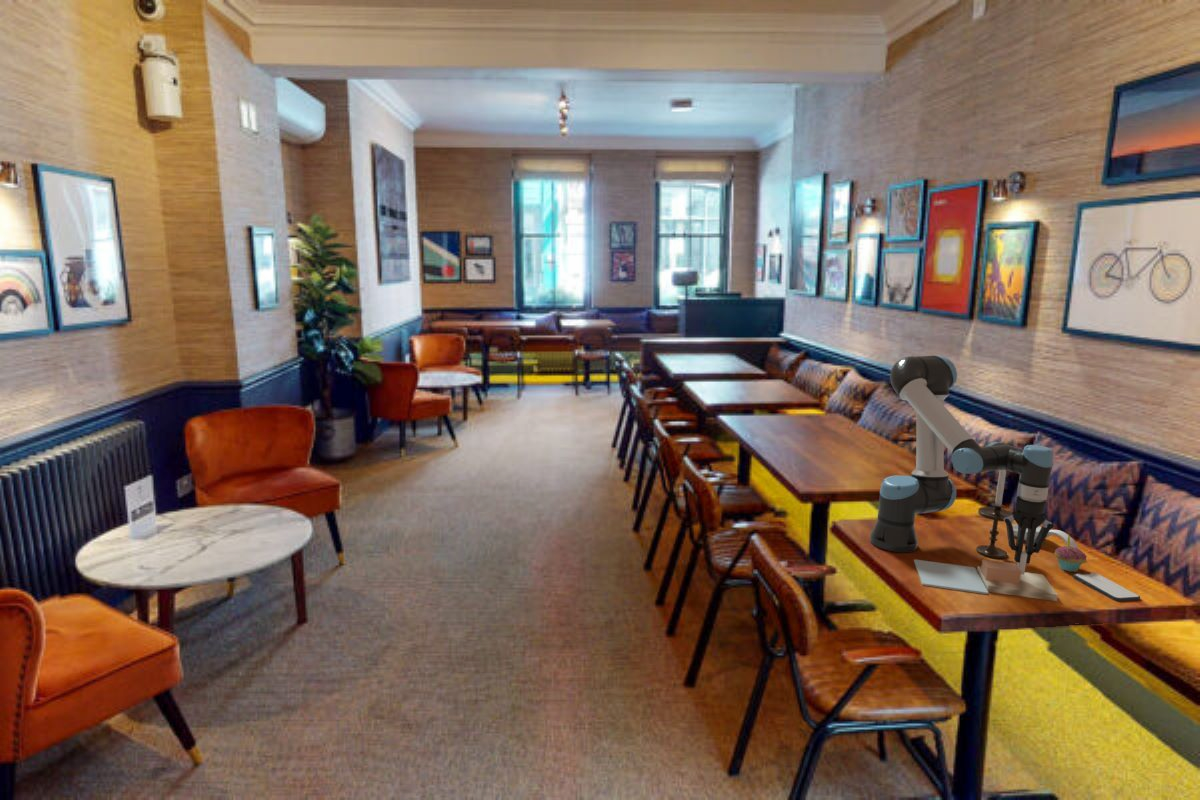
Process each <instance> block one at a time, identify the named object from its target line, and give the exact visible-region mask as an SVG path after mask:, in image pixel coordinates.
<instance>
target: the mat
mask: <svg viewBox="0 0 1200 800" xmlns="http://www.w3.org/2000/svg"><path fill="white" fill-rule="evenodd" d="M913 563H914V565H915V568H916V571H917V574H918V578H919V580H920V582H921V586H927V587H934V588H941V589H947V590H954V591H961V592H967V593H974V594H975V593H976V594H982V595H989V592H988V591H987V589H986V587H985V585H984V583H983V582H982V580H981V578H980V576H979V574H978V572H977V569H976V567H974V566H968V565H959V564H953V563H942V562H938V561H937V562H936V561H928V560H921V559H913Z"/></svg>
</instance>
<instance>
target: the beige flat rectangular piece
mask: <svg viewBox="0 0 1200 800" xmlns="http://www.w3.org/2000/svg"><path fill="white" fill-rule="evenodd" d="M981 567H982V565H980V566H979V565H978V566H977V567H976V568H977V569H976V570H977V572H978V574H979V576H980V578H981V580H982V582H983V583H984V585H985V587H986V589H987V591H988V593H994V594H1003V595H1009V596H1010V595H1011V596H1016V597H1017V596H1018V597H1023V598H1030V599H1036V600H1037V599H1039V600H1045V601H1051V602H1052V601H1053V602H1058V598H1059V594H1058V593H1057V591H1056V590H1055V589H1054V587H1053V586H1052V585H1051V584H1050V583H1049V581H1048V579H1047V578H1046V576H1044V574H1043V573H1042V574H1040V573H1034V572H1033V573H1032V572H1028V571H1025V573H1024V575H1022V574H1021V577H1020V583H1019V584H1014V583H1007V582H999V581H992V580H986V579H985V578H984V576H983V574H982V572H981Z"/></svg>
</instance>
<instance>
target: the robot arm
mask: <svg viewBox="0 0 1200 800" xmlns="http://www.w3.org/2000/svg"><path fill="white" fill-rule="evenodd" d="M890 370H891V371H890V375H889V379H890V384H891V387H892V388H893V390H894V392H895V393H896V394H897V396H898V397H899V399H901V400H902V401H907V403H908V404H909V405H910V406H911V407H912V408H913V410H915V412H916V418H915V419H916V423H915V424H916V426H915V428H916V431H915V433H916V439H915V440H916V441H915V442H916V443H915V445H916V447H915V449H916V451H915V453H916V454H915V460H916V461H915V462H916V465H915V469H913V470H912V471H911V475H899V474H898V475H897V474H895V475H891V476H887V477H886V478H884V479H883V480H882V481H881V485H880V489H879V498H878V499H879V500H878V511H877V520H876V522H875V524H874V525H873V528H872V529H871V532H870V534H869V542H870V543H871V545H874V546H875V547H876V548H879V549H882V550H885V551H889V552H893V553H894V552H895V553H911V552H915V551H916V550H917V549H918V545H919V543H918V538H917V537H918V536H917V534H916V529H915V519H916V515H918V514H925V513H926V514H928V513H938V512H941V511H945V510H946V511H947V510H948V509H949V508H950V507H952V506H953V505H954V503H955V501H956V498H957V489H956V485H954V482H953V480H952V479H950V478H949V473H948V472H947V471H946V470H945V469H944V467H945V463H944V459H945V456H944V455H945V454H944V453H945V448H946V449H947V450H948V451H949V452H950V453H951V454H952V455H951V457H950V459H951V463H952V467H953V468H954V469H955V471H957V472H958V473H960V474H966V475H967V474H968V475H969V474H972V475H973V474H978V473H986V472H997V471H1000V470H1006V472H1007V471H1008V472H1011V473H1014V474H1017V475H1019V476H1018V477H1019V480H1018V484H1017V485H1018V486H1017V490H1016V491H1017V492H1016V494H1017V496H1016V500H1015V504H1014V510H1013V512H1012V515H1011V516H1009V517H1003V520H1004V521H1005V522H1004V521H1003V522H1004V523H1005V527H1006V532H1007V533H1006V534H1007V541H1008V546H1009V548H1010V549H1011V551H1014V561H1015V563H1016V565H1017V566H1018V568H1019V569H1020V571H1021V574H1022V575H1024V573H1025V572H1026V564H1027V565H1028V564H1030V563H1031V557H1032V555H1033V554H1038V553H1039V552H1040V550H1041V549H1042V548H1043V547H1042V546H1043V544H1044V542H1045V540H1046V539H1047V538H1046V536H1047V534H1048V532H1049V531H1050V530H1053V528H1054V524H1053V523H1052V522H1051V521H1049V520H1048V519H1046V516H1045V513H1046V508H1047V501H1046V500H1047V499H1048V496H1049V488H1050V480H1051V476H1052V469H1053V466H1054V450H1053V449H1051V447H1046V446H1044V445H1038V444H1027V445H1026V446H1024V447H1023V448H1021V447H1016V446H1013V445H1010V444H1007V443H1004V442H998V441H991V442H989V443H988V444H986V445H985V446H981V445H980V444H979V442H977V441H976V440H975V439H974V437H972V436H971V434H969V433H968V431H967V430H966V429H965V428H964V426H963V425H962V424H961V423H960V422H959V420H958V419H956V418H955V416H954V415H953V414H952V413H951V412H950V411H949V410H948V408H947V407H946V406H945V399H947V398H948V397H949V396H950V389H951V388H953V387H954V385H955V384H956V382H957V379H958V372H957V368H956V366H955V364H954V362H952V361H951V360H950V359H949V358H948V357H946V356H942V355H941V356H940V355H933V354H932V355H922V356H921V355H919V356H918V355H917V356H912V355H911V356H905V357H902V358H900V359H898V360H897V361H896V363H894V365H892V368H891V369H890ZM1014 519H1015V520H1014ZM1013 520H1014V521H1015V523H1016V524H1018V533H1017V537H1016V541H1015V535H1014V532H1013V526H1012V525H1014V521H1013ZM1041 525H1042V526H1041ZM1037 527H1041V529H1040V532H1039V534H1038V536H1037V538H1036V540H1035V542H1034V536H1035V533H1036V528H1037ZM1026 528H1028V532H1027V539H1026V541H1024V536H1025V532H1026ZM1024 542H1025V547H1024ZM1023 548H1024V550H1023Z"/></svg>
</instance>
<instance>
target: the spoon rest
mask: <svg viewBox="0 0 1200 800" xmlns="http://www.w3.org/2000/svg"><path fill="white" fill-rule="evenodd" d="M1012 526H1013V532H1014V537H1016V538H1017V533H1018V524H1017V523H1016V524H1012ZM1041 527H1042V526H1039V527H1037V528H1036V533H1035V536H1034V542H1035V540H1036V538H1037V536H1038V534H1039V532H1040V529H1041ZM1027 532H1028V528H1026V532H1025V536H1024V540H1025V541H1024V542H1026V539H1027ZM1068 534H1069V533H1066V532H1064V531H1062V530H1060V529H1059V530H1058V529H1051V530H1050V531H1049V532H1048V534H1047V536H1046V538H1045V539H1047V538H1048V537H1050V536H1057V537H1059V538H1061V539H1062V541H1064V543H1065V545H1066V546H1067V543H1068ZM1070 546H1071V547H1075V548H1077V549H1079V546H1078V545H1077V543H1076V542H1075V540H1074V539H1073V537H1071V536H1070Z"/></svg>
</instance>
